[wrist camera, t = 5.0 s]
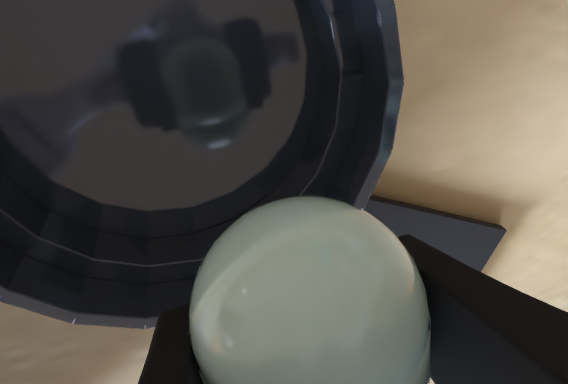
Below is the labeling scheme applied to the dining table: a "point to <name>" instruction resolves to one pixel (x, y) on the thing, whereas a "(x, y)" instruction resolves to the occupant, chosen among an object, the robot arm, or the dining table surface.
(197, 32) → the basin
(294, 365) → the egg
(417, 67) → the dining table surface
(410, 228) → the mat
